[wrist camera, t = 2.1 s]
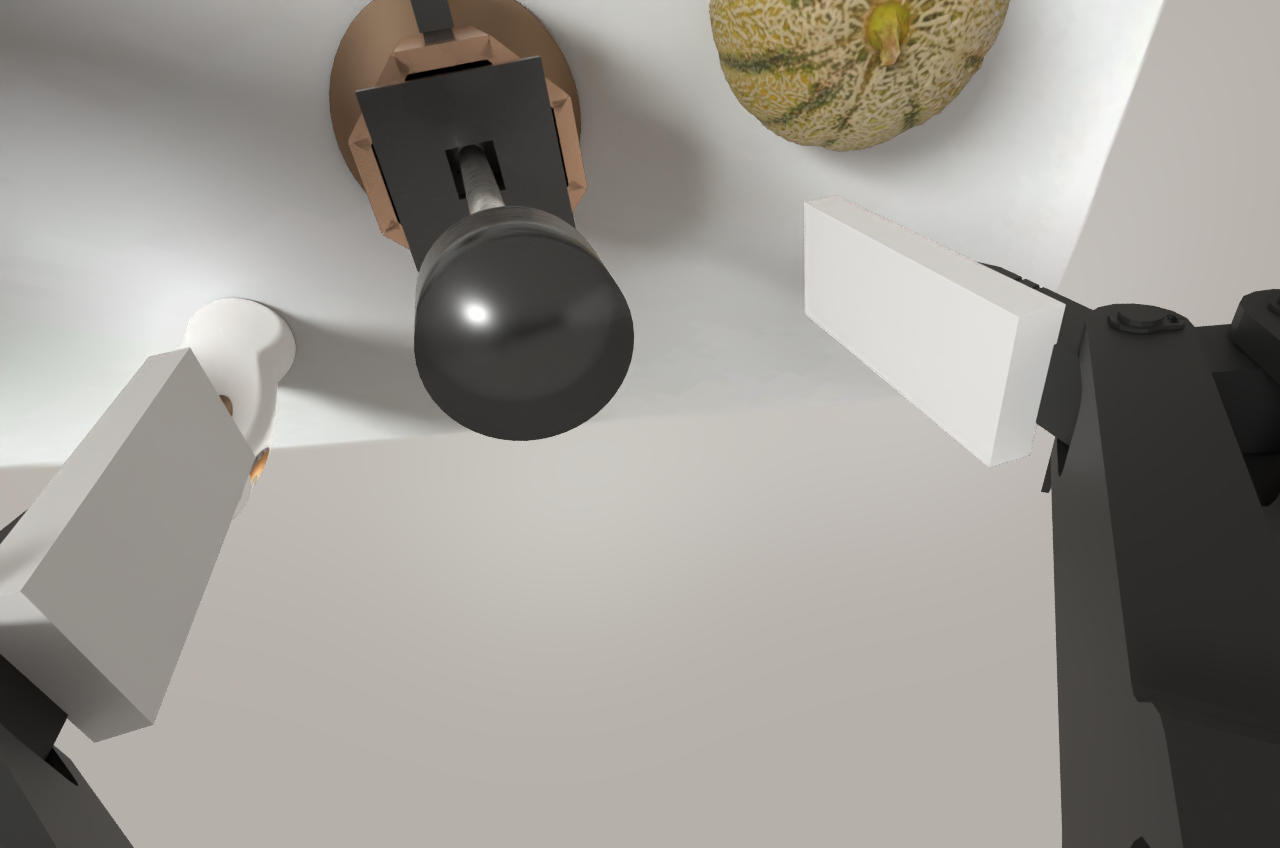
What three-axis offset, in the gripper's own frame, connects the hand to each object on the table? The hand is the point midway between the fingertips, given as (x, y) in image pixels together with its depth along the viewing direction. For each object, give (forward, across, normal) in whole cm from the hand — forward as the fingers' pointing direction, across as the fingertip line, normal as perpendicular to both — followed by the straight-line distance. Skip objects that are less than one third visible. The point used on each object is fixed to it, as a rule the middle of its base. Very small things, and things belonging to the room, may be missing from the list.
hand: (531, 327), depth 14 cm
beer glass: (+30, -17, -10) cm, 36 cm away
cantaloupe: (+30, +21, +3) cm, 37 cm away
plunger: (+20, 0, 0) cm, 20 cm away
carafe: (+30, 0, +2) cm, 30 cm away
